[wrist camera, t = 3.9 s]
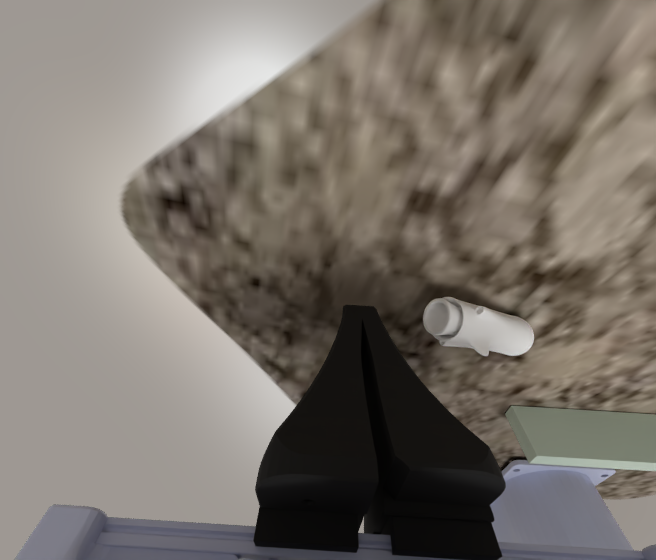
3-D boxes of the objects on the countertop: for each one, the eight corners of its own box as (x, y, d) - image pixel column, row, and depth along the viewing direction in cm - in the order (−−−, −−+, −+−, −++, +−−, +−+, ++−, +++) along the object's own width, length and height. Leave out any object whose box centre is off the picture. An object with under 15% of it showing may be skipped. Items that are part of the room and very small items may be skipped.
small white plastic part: (464, 356, 16) (486, 409, 14) (408, 291, 14) (423, 341, 11) (530, 329, 15) (569, 381, 12) (482, 250, 12) (519, 296, 10)
